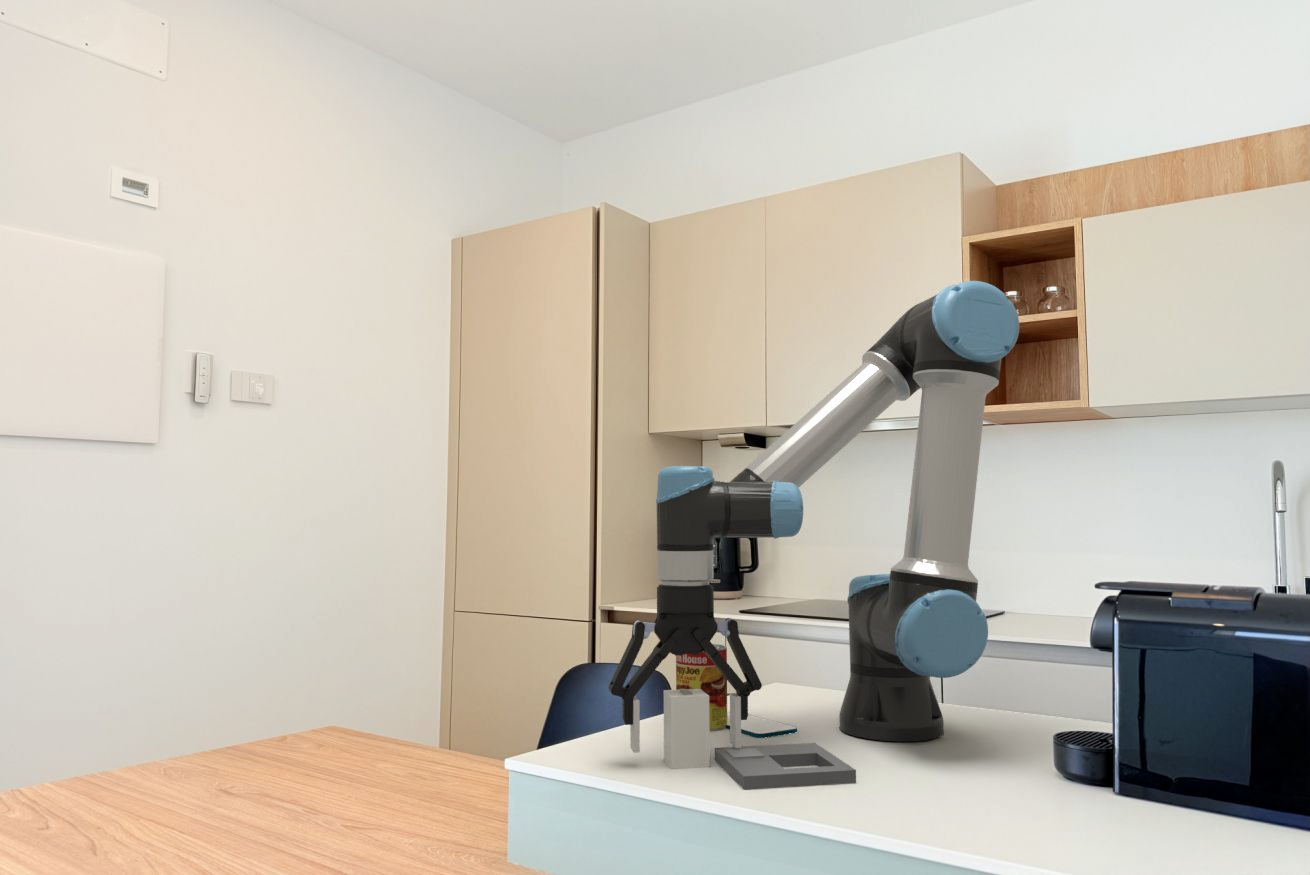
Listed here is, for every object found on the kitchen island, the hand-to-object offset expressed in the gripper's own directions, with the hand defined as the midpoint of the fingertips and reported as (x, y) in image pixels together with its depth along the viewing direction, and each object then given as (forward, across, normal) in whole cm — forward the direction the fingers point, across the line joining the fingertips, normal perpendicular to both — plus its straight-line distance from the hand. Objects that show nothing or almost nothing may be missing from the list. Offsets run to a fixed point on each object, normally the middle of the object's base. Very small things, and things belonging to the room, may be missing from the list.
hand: (685, 748), depth 122 cm
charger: (+2, 0, 0) cm, 2 cm away
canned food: (+2, -7, -21) cm, 22 cm away
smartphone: (+2, -14, -20) cm, 25 cm away
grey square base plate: (+2, -11, +6) cm, 13 cm away
